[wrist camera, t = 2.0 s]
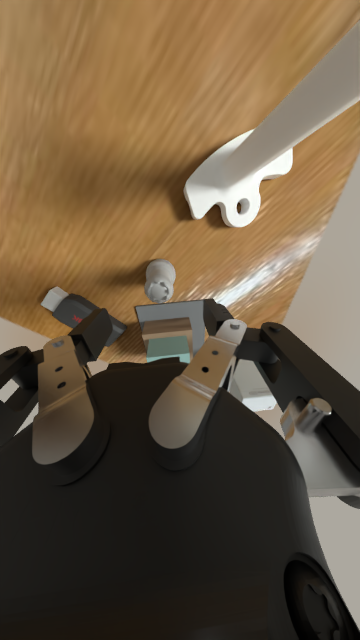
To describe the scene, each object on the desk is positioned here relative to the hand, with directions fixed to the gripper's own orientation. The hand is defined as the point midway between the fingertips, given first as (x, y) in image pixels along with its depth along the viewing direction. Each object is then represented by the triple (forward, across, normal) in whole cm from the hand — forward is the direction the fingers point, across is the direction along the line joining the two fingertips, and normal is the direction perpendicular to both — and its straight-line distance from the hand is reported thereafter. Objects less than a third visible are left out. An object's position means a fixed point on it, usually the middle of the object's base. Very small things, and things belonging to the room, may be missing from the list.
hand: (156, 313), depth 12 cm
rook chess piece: (+12, 0, 0) cm, 12 cm away
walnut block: (+12, 0, +12) cm, 16 cm away
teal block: (+8, 0, +12) cm, 14 cm away
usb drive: (+13, +13, +6) cm, 19 cm away
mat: (+12, -1, +12) cm, 17 cm away
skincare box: (+13, -13, +18) cm, 25 cm away
